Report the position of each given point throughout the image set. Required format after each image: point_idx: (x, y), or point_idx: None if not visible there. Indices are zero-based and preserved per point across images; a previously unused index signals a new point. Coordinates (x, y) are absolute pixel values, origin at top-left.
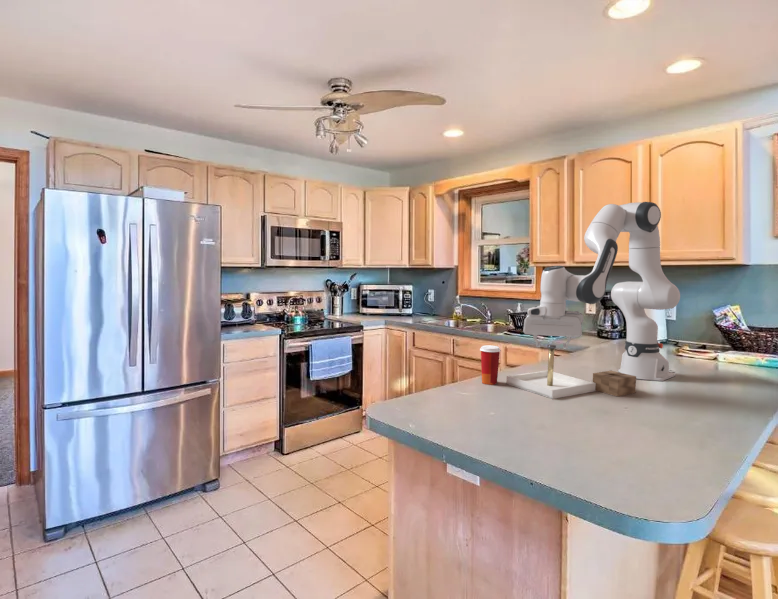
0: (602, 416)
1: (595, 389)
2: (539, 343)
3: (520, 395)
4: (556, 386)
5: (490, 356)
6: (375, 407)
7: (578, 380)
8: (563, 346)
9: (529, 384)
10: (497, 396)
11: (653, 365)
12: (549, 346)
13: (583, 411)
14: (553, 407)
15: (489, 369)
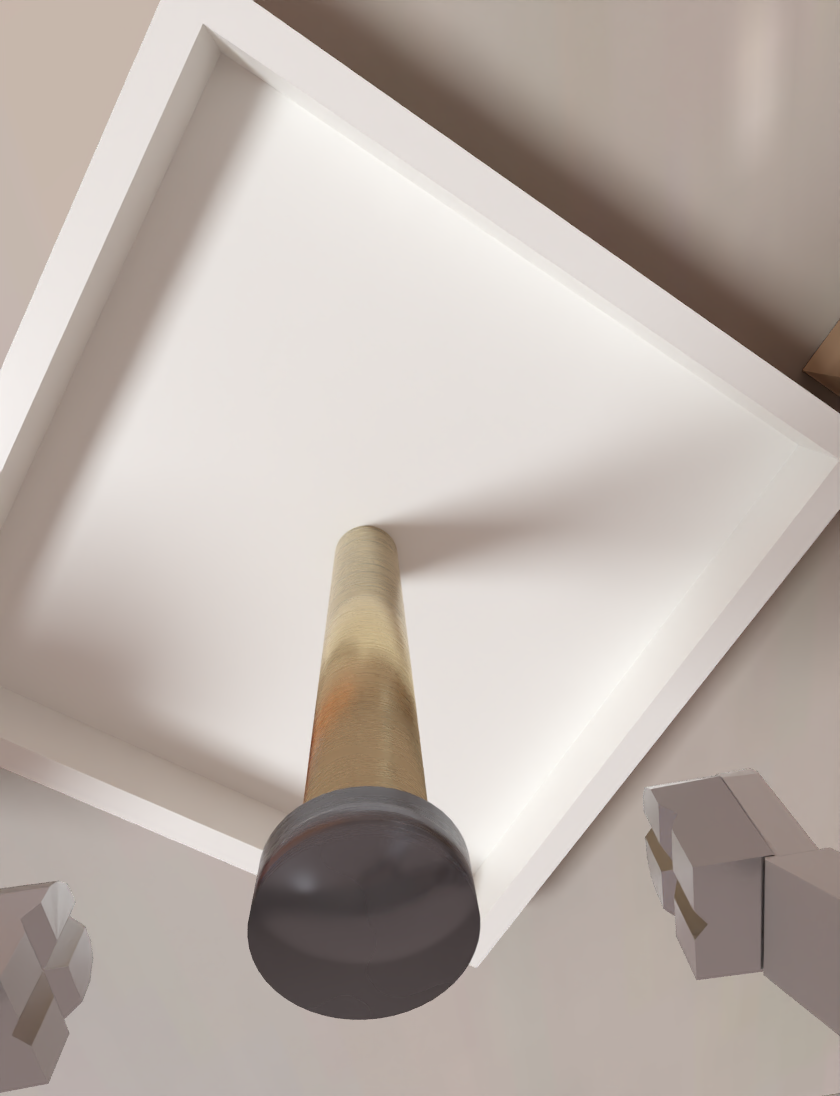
0: (818, 1068)
1: (838, 393)
2: (41, 1059)
3: (208, 941)
4: (441, 565)
5: None
6: None
7: (684, 357)
8: (671, 889)
9: (217, 847)
10: (63, 1052)
11: None
12: (330, 994)
13: (705, 1042)
14: (510, 1067)
15: None
